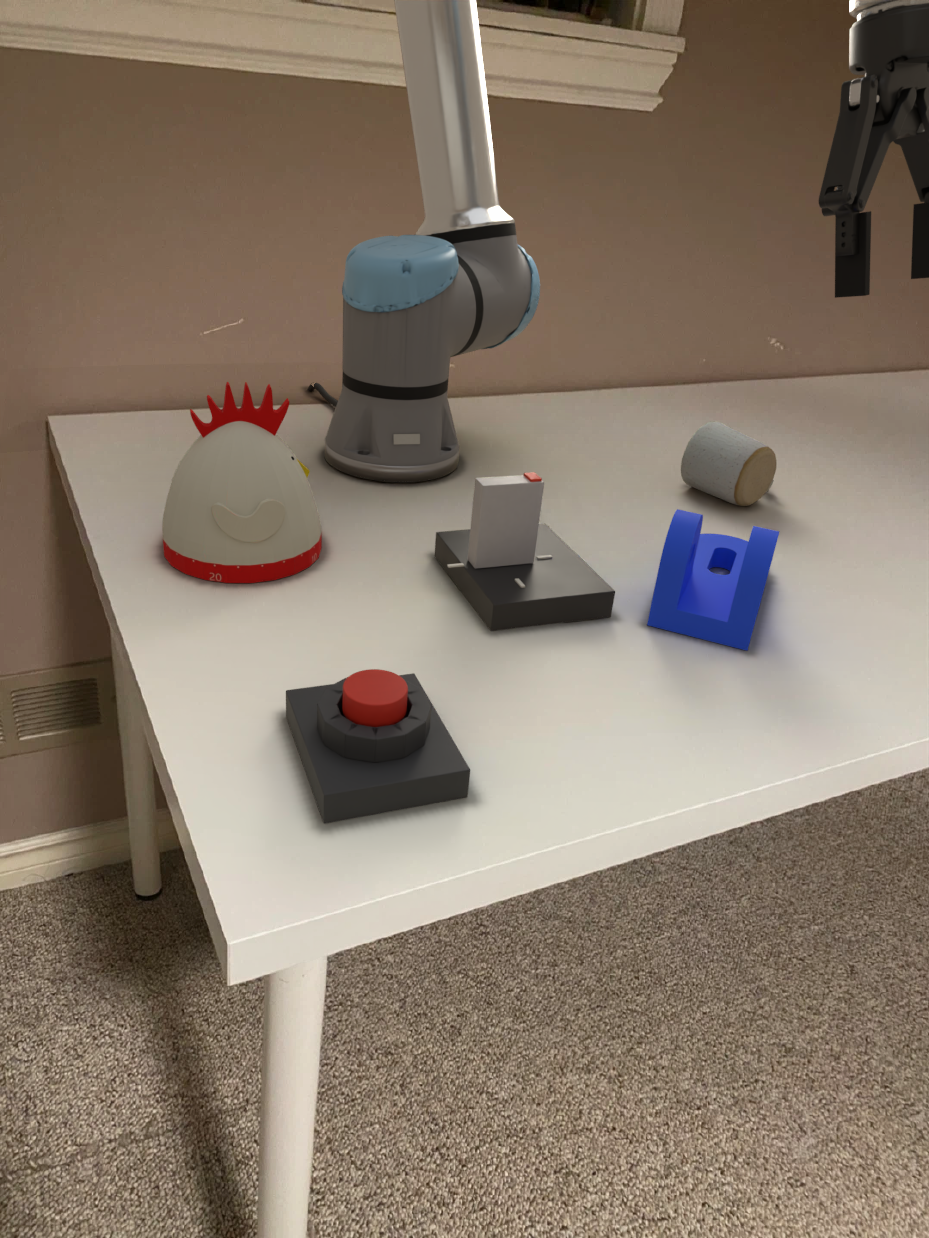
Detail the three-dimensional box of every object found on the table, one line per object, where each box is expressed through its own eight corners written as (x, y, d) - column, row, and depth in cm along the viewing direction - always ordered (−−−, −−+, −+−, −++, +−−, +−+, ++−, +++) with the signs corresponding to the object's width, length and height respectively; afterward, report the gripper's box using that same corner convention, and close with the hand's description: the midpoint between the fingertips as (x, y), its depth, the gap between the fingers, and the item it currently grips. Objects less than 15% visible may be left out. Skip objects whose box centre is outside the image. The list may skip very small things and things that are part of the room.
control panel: (420, 557, 87) (421, 531, 85) (541, 546, 91) (545, 521, 90) (475, 633, 75) (478, 604, 74) (611, 617, 80) (616, 589, 78)
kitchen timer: (332, 578, 82) (334, 408, 74) (165, 588, 78) (150, 410, 70) (308, 513, 93) (308, 361, 86) (162, 519, 89) (149, 360, 82)
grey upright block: (474, 569, 80) (483, 483, 76) (467, 559, 81) (475, 474, 77) (533, 563, 82) (545, 479, 78) (525, 554, 83) (536, 471, 79)
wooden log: (733, 515, 102) (751, 447, 98) (673, 490, 107) (687, 424, 103) (787, 498, 108) (805, 433, 104) (727, 475, 113) (743, 412, 110)
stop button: (335, 696, 60) (335, 673, 59) (395, 687, 61) (397, 665, 61) (351, 732, 57) (352, 709, 56) (414, 723, 58) (416, 699, 57)
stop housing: (285, 716, 64) (285, 666, 62) (412, 698, 67) (415, 650, 65) (323, 824, 55) (324, 770, 53) (467, 797, 58) (473, 745, 56)
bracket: (747, 650, 77) (774, 550, 72) (646, 625, 79) (667, 526, 75) (769, 565, 92) (793, 478, 87) (684, 545, 94) (703, 459, 89)
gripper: (865, -12, 67) (860, 302, 74) (1013, 6, 81) (996, 267, 89) (771, 18, 72) (775, 307, 80) (925, 29, 87) (916, 274, 94)
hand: (891, 287), depth 84 cm, fingers open, 13 cm apart
